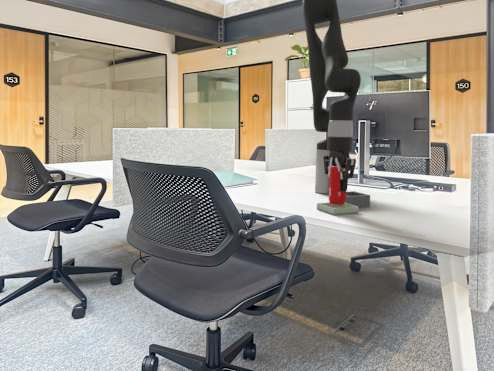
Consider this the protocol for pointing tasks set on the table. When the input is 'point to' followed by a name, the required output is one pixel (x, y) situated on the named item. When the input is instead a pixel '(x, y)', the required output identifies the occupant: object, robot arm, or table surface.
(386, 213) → the table surface
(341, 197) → the beverage can
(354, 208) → the tray
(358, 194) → the dark grey open box
